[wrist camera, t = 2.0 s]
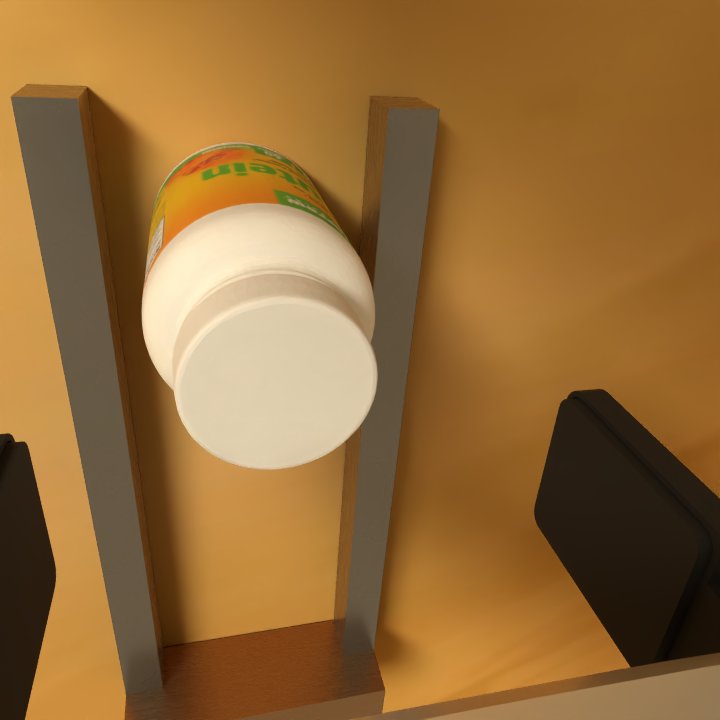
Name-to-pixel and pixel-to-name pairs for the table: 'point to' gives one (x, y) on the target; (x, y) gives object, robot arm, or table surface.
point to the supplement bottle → (257, 309)
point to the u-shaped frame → (118, 448)
